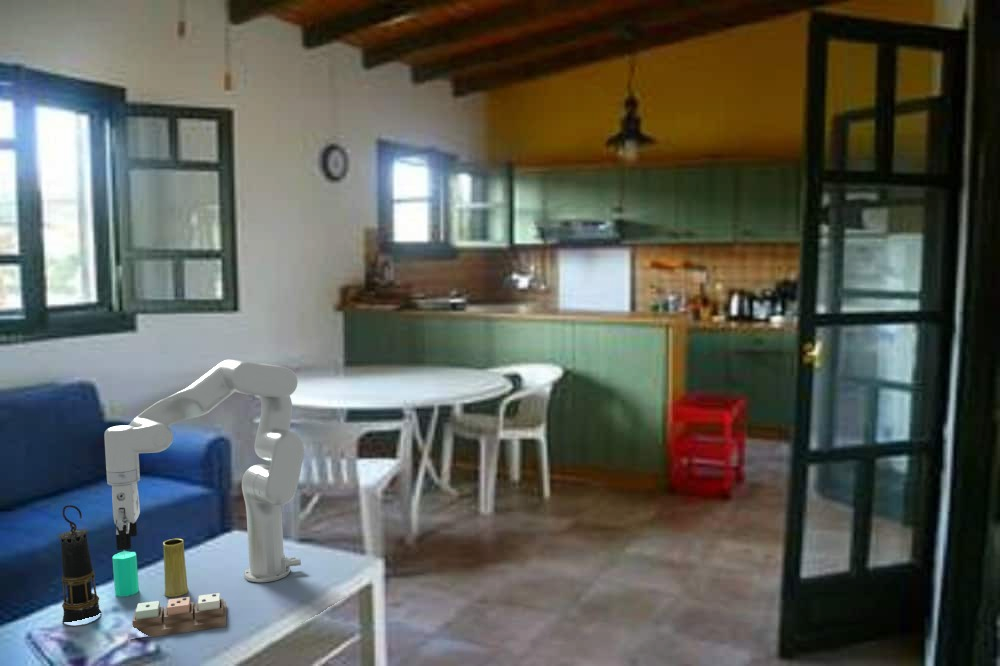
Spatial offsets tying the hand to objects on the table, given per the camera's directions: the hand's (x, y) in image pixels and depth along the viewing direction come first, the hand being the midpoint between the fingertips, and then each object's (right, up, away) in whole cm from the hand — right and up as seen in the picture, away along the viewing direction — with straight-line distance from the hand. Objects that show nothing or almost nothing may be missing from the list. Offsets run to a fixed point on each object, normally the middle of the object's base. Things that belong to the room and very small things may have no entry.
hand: (127, 542), depth 221 cm
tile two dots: (+20, -17, +1) cm, 26 cm away
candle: (-8, -18, +19) cm, 28 cm away
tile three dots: (+13, -17, -1) cm, 22 cm away
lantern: (-13, -20, +4) cm, 24 cm away
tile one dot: (+6, -17, -3) cm, 19 cm away
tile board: (+13, -20, 0) cm, 24 cm away
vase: (+6, -18, +18) cm, 26 cm away
